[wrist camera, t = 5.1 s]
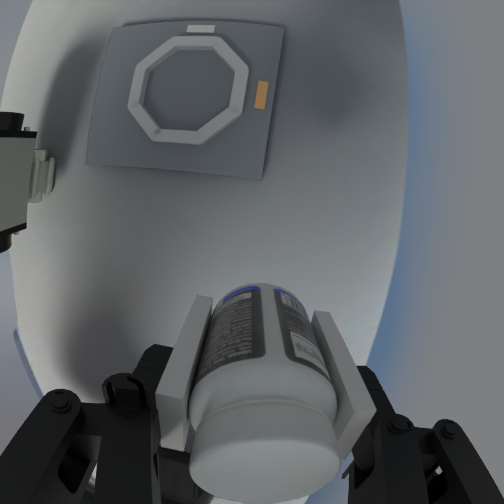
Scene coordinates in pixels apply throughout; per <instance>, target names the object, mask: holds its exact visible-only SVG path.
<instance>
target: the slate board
mask: <svg viewBox="0 0 504 504" xmlns="http://www.w3.org/2000/svg"><path fill="white" fill-rule="evenodd" d="M284 28H285V27H278V26H271V25H263V24H254V23H243V22H228V21H173V22H158V23H147V24H138V25H130V26H123V27H117V28H113V31H112V34H111V37H110V40H109V44H108V47H107V50H106V54H105V58H104V61H103V65H102V69H101V73H100V77H99V81H98V86H97V91H96V95H95V100H94V106H93V111H92V117H91V123H90V130H89V137H88V145H87V153H86V163H85V165H99V166H121V167H138V168H152V169H165V170H176V171H186V172H196V173H205V174H214V175H222V176H230V177H238V178H245V179H252V180H259V181H261V179H262V173H263V166H264V159H265V153H266V146H267V140H268V133H269V126H270V120H271V113H272V107H273V100H274V94H275V87H276V80H277V74H278V67H279V61H280V54H281V48H282V41H283V35H284Z"/></svg>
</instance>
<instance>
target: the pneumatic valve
mask: <svg viewBox="0 0 504 504" xmlns="http://www.w3.org/2000/svg"><path fill="white" fill-rule="evenodd" d="M24 116H25V115H24V114H22V113H15V112H0V253H2V252H4V251H6V250H8V249H9V248H10V247H11V244H12V242H11V234H13V233H14V234H15V235H17V234H19V231H21V230H23V229H26V228H27V205H28V203H37V202H40V201H41V200H42V194H43V192H45V195H46V196H49V195H50V192H51V191H52V185H53V177H54V170H55V164H56V161H55V160H54V159H55V158H51V157H50V158H49V160H47V156H48V150H43V149H34V146H35V141H36V136H37V132H34V131H29V130H30V127H24V131H22V130H21V129H22V125H23V120H24Z"/></svg>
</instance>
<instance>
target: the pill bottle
mask: <svg viewBox="0 0 504 504" xmlns="http://www.w3.org/2000/svg"><path fill="white" fill-rule="evenodd" d="M336 413H337V398H336V393H335V389H334V387H333V385H332V382H331V379H330V376H329V374H328V371H327V368H326V365H325V362H324V360H323V357H322V354H321V351H320V349H319V346H318V343H317V340H316V337H315V335H314V332H313V329H312V326H311V323H310V320H309V318H308V315H307V313H306V310H305V308H304V307H303V305H302V303H301V302H300V301H299V300H298V299H297V298H296V297H295V296H294V295H293V294H292V293H291V292H289V291H287V290H285V289H283V288H281V287H278V286H275V285H270V284H262V283H259V284H248V285H244V286H241V287H238V288H236V289H234V290H232V291H231V292H229V293H228V294H226V295H225V296H224V297H223V298H222V299H221V300H220V301H219V303H218V304H217V305H216V307H215V309H214V311H213V314H212V316H211V320H210V323H209V327H208V331H207V335H206V338H205V342H204V346H203V349H202V353H201V357H200V361H199V365H198V368H197V373H196V376H195V380H194V384H193V388H192V391H191V395H190V399H189V418H190V422H191V425H192V427H193V429H194V431H195V436H194V438H193V444H192V450H191V456H190V463H189V471H190V475H191V478H192V479H193V481H194V482H195V483H196V484H197V485H198V486H199V487H200V488H202V489H203V490H205V491H206V492H208V493H210V494H212V495H214V496H217V497H220V498H223V499H227V500H231V501H236V502H242V503H251V504H267V503H277V502H284V501H289V500H293V499H298V498H301V497H304V496H307V495H309V494H312V493H314V492H316V491H317V490H319V489H321V488H323V487H324V486H325V485H327V484H328V483H330V482H331V481H332V480H333V479H334V478H335V477H336V475H337V474H338V472H339V470H340V467H341V456H340V452H339V448H338V444H337V440H336V434H335V432H334V429H333V427H332V425H333V423H334V421H335V418H336Z"/></svg>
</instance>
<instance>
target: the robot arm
mask: <svg viewBox="0 0 504 504" xmlns="http://www.w3.org/2000/svg"><path fill="white" fill-rule="evenodd" d="M212 303H213V298H211V297H205V296H198V295H197V296H196V298H195V300H194V303H193V305H192V307H191V310H190V312H189V314H188V316H187V319H186V321H185V323H184V326H183V328H182V330H181V332H180V335H179V337H178V339H177V342H176V344H175V347H174V348H172V347H167V346H162V345H157V344H154V345H152V346H151V347H149V348H148V349H147V350H145V352H144V354H143V356H142V357H141V360H140V361H139V363H138V365H137V368H135V370H134V372H133V374H130V373H118V374H115V375H112V376H110V377H109V378H107V379H106V380H105V381H104V383H103V384H102V390H103V394H104V398H105V402H106V403H101V404H96V403H83V402H81V401H80V399H79V397H78V396H77V395H76V394H75V393H73V392H72V391H70V390H66V389H55V390H52V391H50V392H48V393H47V394H46V395H45V396H44V397H43V398H42V399H41V400H40V402H39V403H38V404H37V406H36V407H35V408H34V410H33V411H32V412H31V414H30V415H29V417H28V418H27V419H26V420H25V422H24V423H23V424H22V426H21V427H20V429H19V430H18V431H17V433H16V434H15V436H14V437H13V438H12V440H11V441H10V443H9V444H8V446H7V447H6V449H5V450H4V451H3V453H2V454H1V456H0V504H210V503H211V501H212V499H213V498H214V495H212V494H210V493H208V492H206V491H205V490H203V489H202V488H200V487H199V486H198V485H197V484H196V483H195V482H194V481H193V479H192V478H191V475H190V471H189V463H190V456H191V455H190V454H187V453H184V452H181V451H184V448H185V444H186V439H187V435H188V430H189V426H190V418H189V399H190V395H191V391H192V388H193V384H194V380H195V376H196V373H197V368H198V365H199V361H200V357H201V353H202V349H203V346H204V342H205V338H206V335H207V331H208V327H209V323H210V320H211V313H212ZM311 326H312V329H313V332H314V335H315V337H316V340H317V343H318V346H319V349H320V351H321V354H322V357H323V360H324V362H325V365H326V368H327V371H328V374H329V376H330V379H331V382H332V385H333V387H334V389H335V393H336V398H337V413H336V418H335V421H334V423H333V425H332V427H333V429H334V432H335V434H336V440H337V444H338V448H339V452H340V456H341V460H343V459H346V457H347V456H348V455H349V453H350V452H351V450H352V453H353V456H354V460H353V461H352V463H351V464H350V465H349V467H348V468H347V469H346V471H345V472H344V473H343V475H342V478H343V479H344V478H345V477H346V476H347V475H348V474H349V493H348V504H504V498H503V496H502V495H501V493H500V491H499V489H498V487H497V485H496V484H495V482H494V480H493V478H492V477H491V475H490V473H489V471H488V470H487V468H486V466H485V465H484V463H483V461H482V460H481V458H480V456H479V455H478V453H477V451H476V450H475V448H474V447H473V445H472V443H471V442H470V441H469V439H468V437H467V436H466V434H465V433H464V431H463V430H462V428H461V427H460V426H459V425H458V424H457V423H456V422H454V421H452V420H448V419H442V420H439V421H438V422H437V423H436V424H435V425H434V427H433V428H432V429H428V428H418V427H414V425H413V423H412V422H411V421H410V420H409V419H408V418H407V417H405V416H403V415H400V414H396V413H395V411H394V409H393V407H392V405H391V403H390V402H389V400H388V398H387V396H386V394H385V392H384V390H382V389H383V388H382V386H381V384H380V383H379V381H378V379H377V377H376V375H375V373H374V372H372V371H371V370H370V369H369V368H368V367H367V366H356V365H355V363H354V361H353V359H352V357H351V355H350V352H349V350H348V348H347V346H346V344H345V342H344V340H343V338H342V336H341V334H340V332H339V330H338V328H337V326H336V324H335V322H334V320H333V319H332V317H331V315H330V313H329V312H323V311H314V314H313V317H312V321H311ZM160 441H161V447H166V448H158V445H159V442H160ZM167 448H170V449H167ZM172 449H175V450H172ZM177 450H180V451H177ZM97 461H98V462H97ZM96 463H97V471H96V480H95V485H94V484H92V483H91V482H89V479H90V477H91V475H92V472H93V470H94V468H95V466H96ZM439 466H440V468H441V469H442V473H441V474H437V473H436V471H435V470H436V469H437V468H438V467H439Z"/></svg>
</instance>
